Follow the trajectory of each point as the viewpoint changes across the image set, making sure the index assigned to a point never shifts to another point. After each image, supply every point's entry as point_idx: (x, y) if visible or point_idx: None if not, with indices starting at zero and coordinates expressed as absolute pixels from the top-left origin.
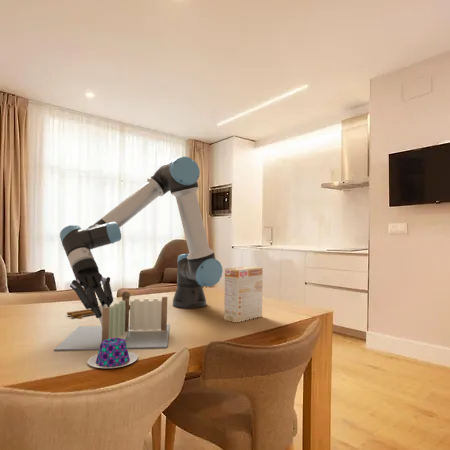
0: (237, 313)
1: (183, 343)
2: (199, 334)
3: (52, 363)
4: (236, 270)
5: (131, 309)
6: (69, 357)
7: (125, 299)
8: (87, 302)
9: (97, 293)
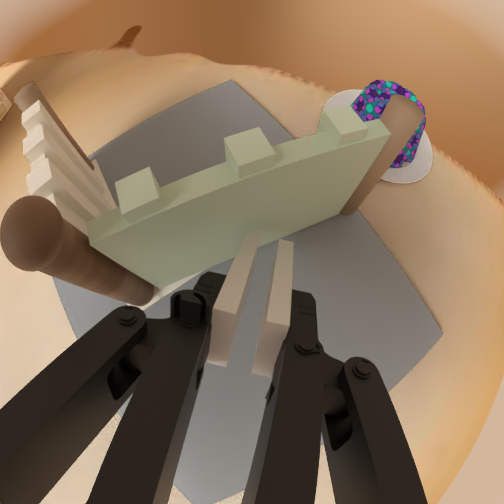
0: (2, 92)
1: (179, 76)
2: (97, 93)
3: (474, 245)
4: None
5: (84, 228)
6: (440, 243)
7: (69, 224)
8: (380, 387)
9: (168, 488)
